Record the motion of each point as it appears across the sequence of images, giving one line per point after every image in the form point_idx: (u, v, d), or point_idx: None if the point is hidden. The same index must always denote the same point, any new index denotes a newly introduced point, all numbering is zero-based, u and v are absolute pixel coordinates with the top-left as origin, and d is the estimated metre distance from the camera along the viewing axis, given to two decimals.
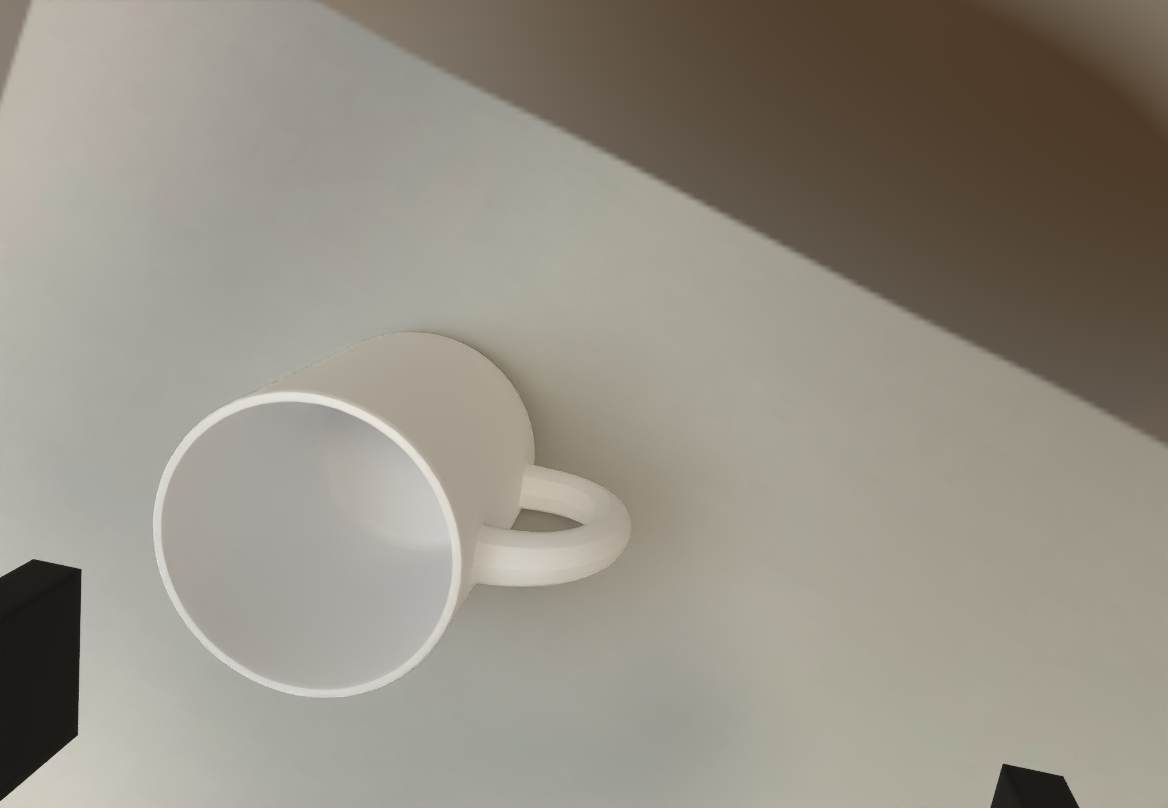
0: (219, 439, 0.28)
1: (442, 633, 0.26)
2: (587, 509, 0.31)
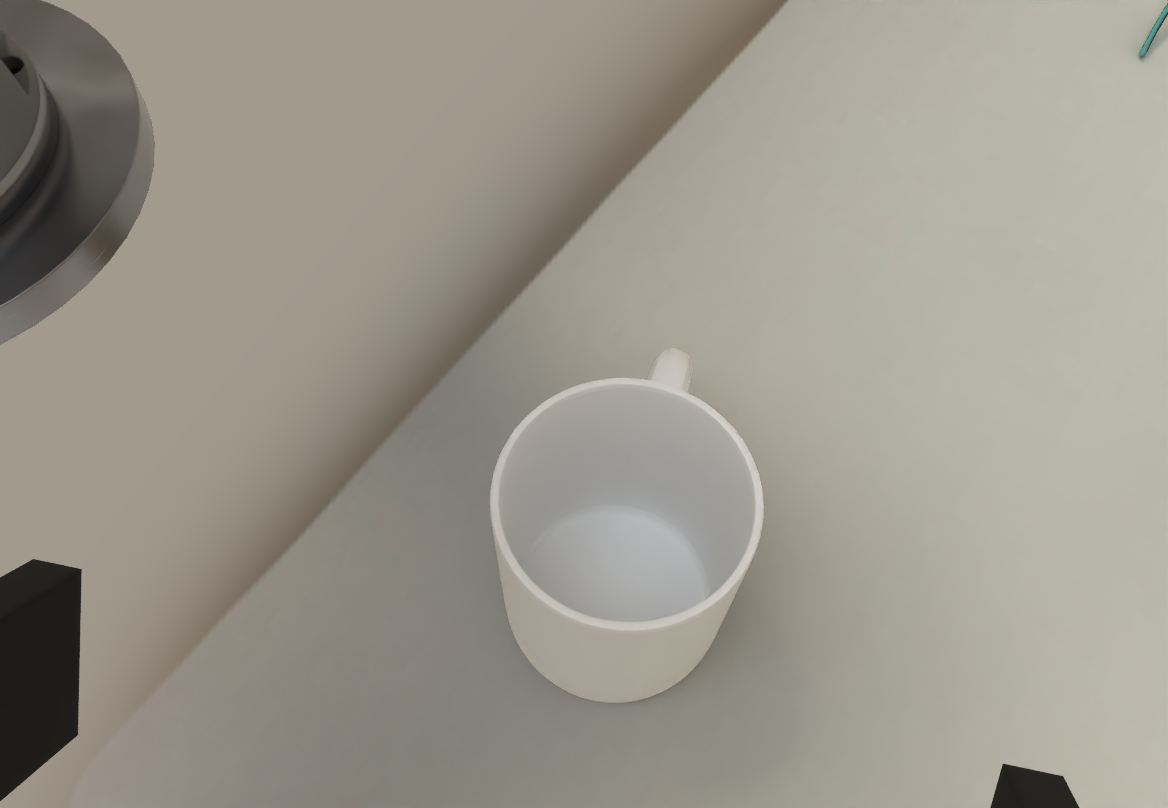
0: None
1: None
2: None
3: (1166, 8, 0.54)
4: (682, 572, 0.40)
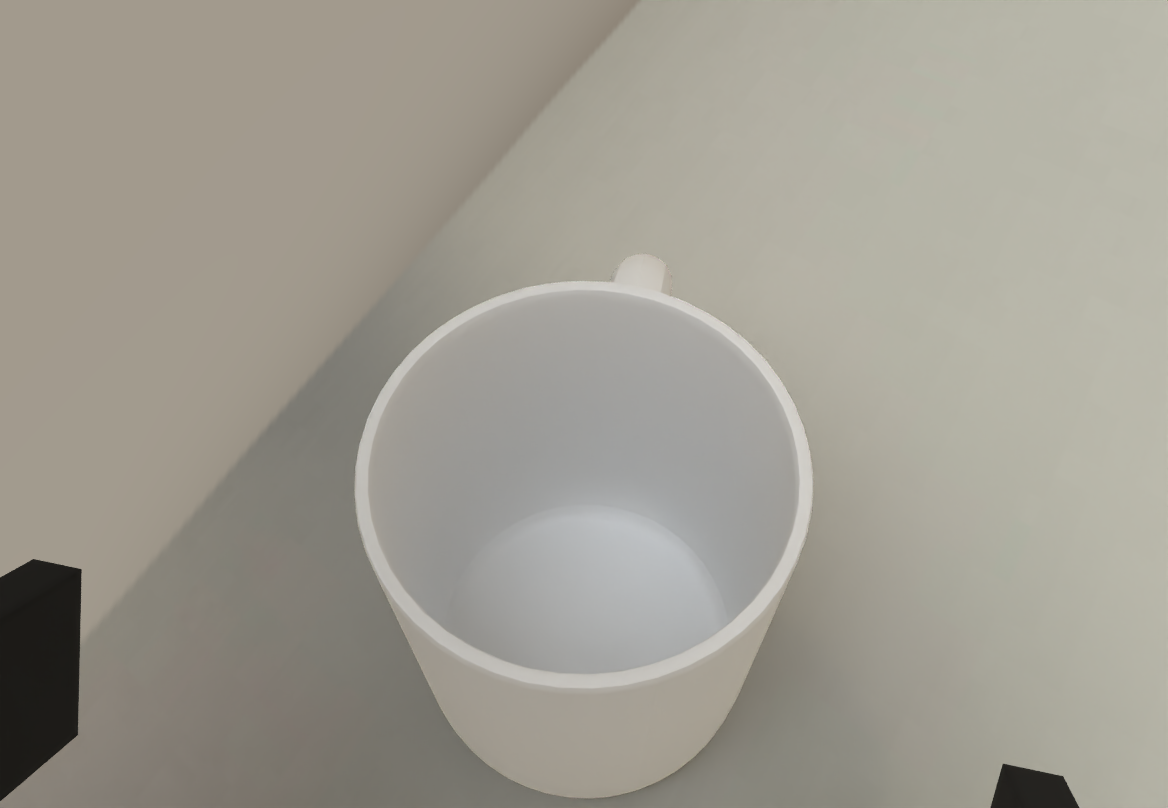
0: None
1: None
2: None
3: None
4: (685, 592, 0.28)
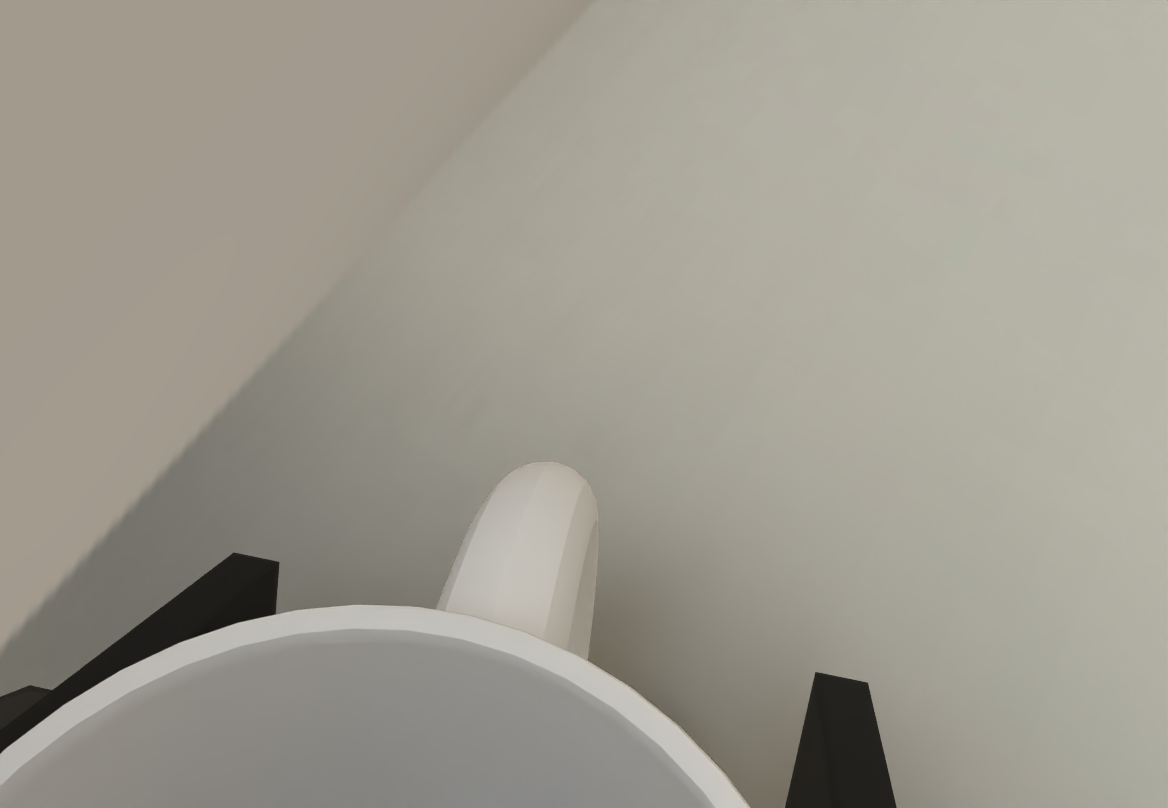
0: None
1: (618, 681, 0.09)
2: None
3: None
4: None
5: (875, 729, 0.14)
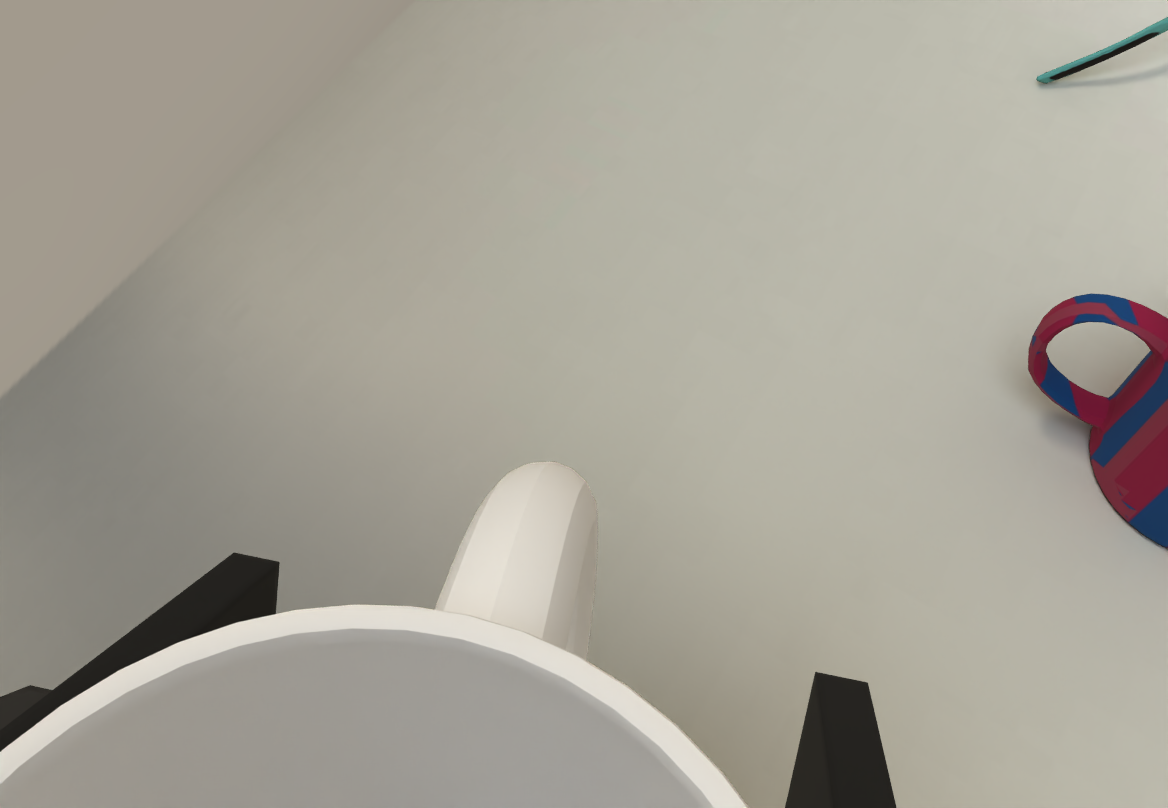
0: None
1: (617, 681, 0.09)
2: None
3: None
4: None
5: (875, 729, 0.14)
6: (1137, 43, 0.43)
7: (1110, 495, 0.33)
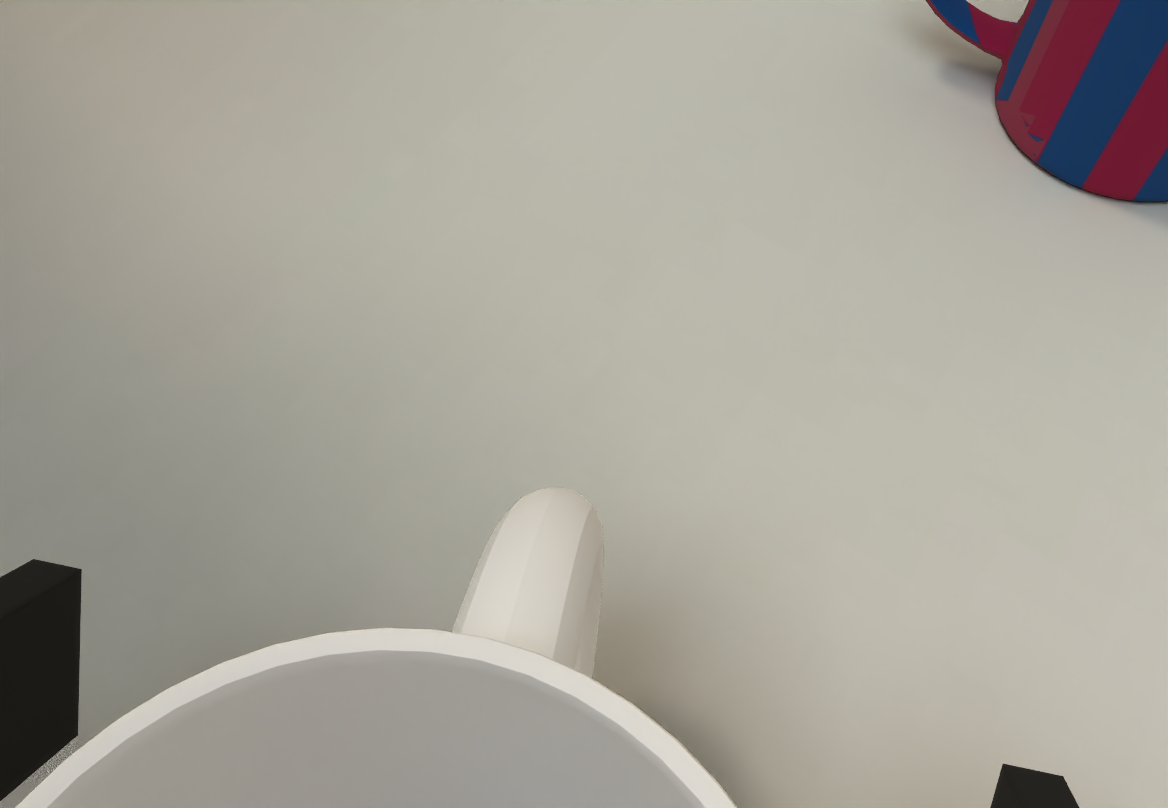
0: None
1: (622, 699, 0.10)
2: None
3: None
4: None
5: None
6: None
7: (1016, 133, 0.28)
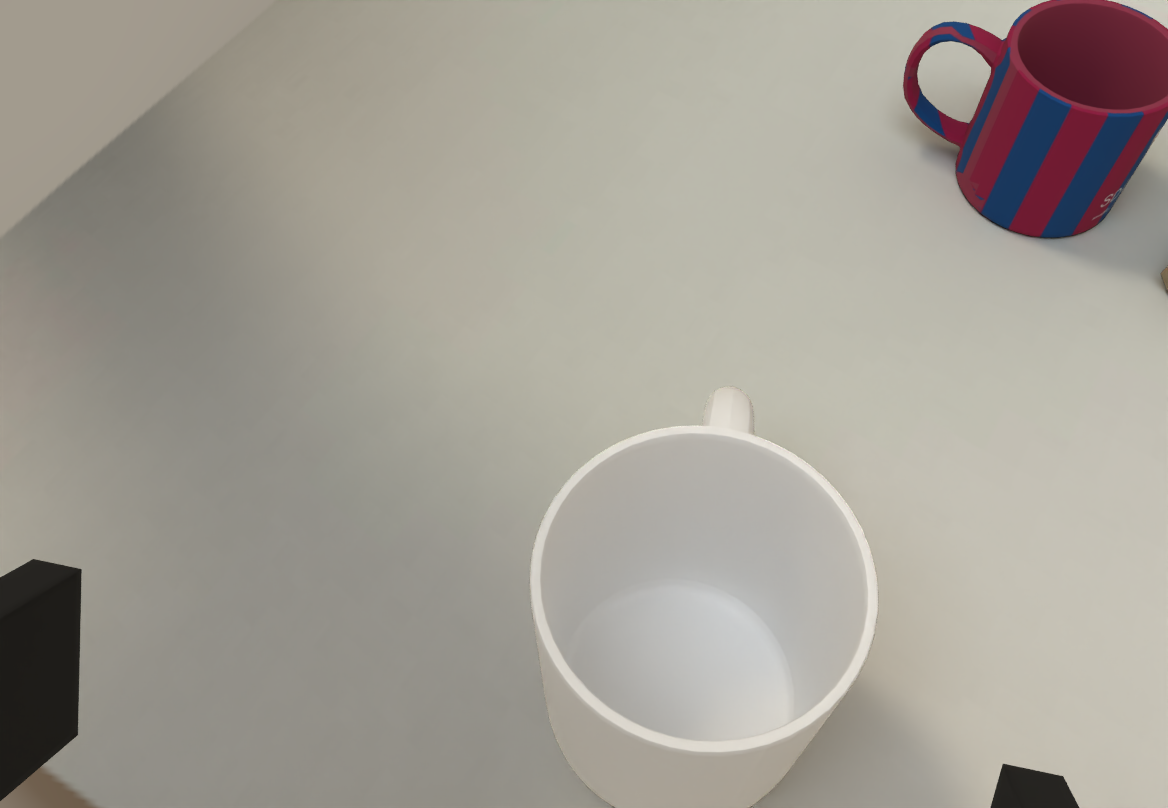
0: None
1: (785, 449, 0.26)
2: None
3: None
4: (755, 654, 0.33)
5: None
6: None
7: (968, 193, 0.44)
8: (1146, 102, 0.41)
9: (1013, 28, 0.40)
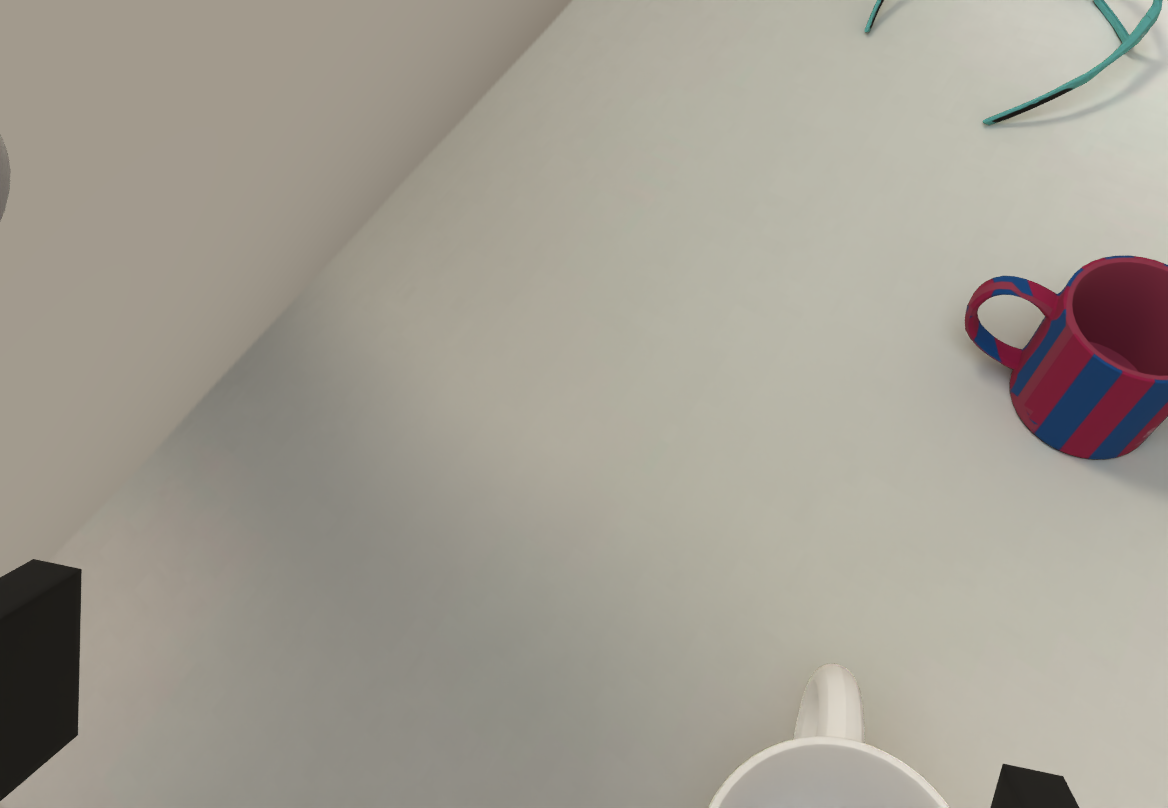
0: None
1: (900, 760, 0.31)
2: (814, 714, 0.38)
3: None
4: None
5: None
6: (1056, 96, 0.58)
7: (1022, 415, 0.48)
8: None
9: (1068, 289, 0.44)
